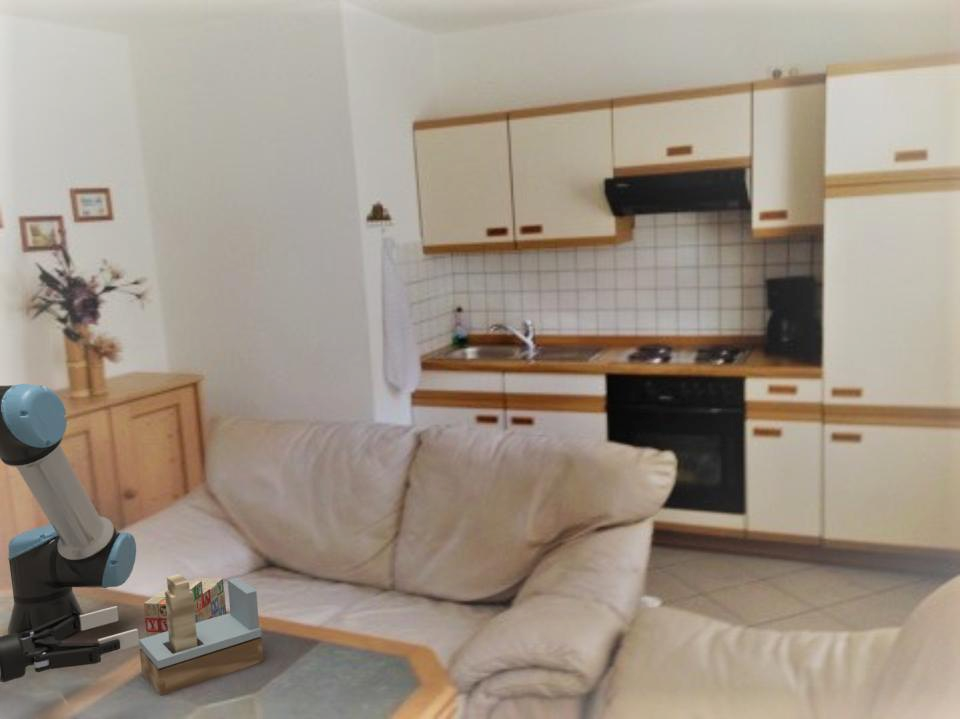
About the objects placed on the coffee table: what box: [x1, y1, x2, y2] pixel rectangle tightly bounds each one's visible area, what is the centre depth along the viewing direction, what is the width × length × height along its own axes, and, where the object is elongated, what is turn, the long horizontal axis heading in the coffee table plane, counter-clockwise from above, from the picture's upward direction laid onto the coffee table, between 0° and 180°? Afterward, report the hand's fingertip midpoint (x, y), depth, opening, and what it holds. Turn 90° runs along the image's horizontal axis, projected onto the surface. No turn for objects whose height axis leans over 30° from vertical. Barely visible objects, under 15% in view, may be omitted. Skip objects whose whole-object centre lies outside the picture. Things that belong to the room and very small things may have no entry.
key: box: [165, 573, 197, 654], centre depth 161 cm, size 6×4×20 cm
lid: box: [139, 577, 263, 669], centre depth 165 cm, size 12×20×9 cm, turn 128°
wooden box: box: [139, 636, 264, 697], centre depth 166 cm, size 12×20×6 cm, turn 128°
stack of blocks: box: [143, 577, 227, 637], centre depth 182 cm, size 21×6×12 cm, turn 169°
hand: (127, 624), depth 155 cm, fingers open, 13 cm apart
